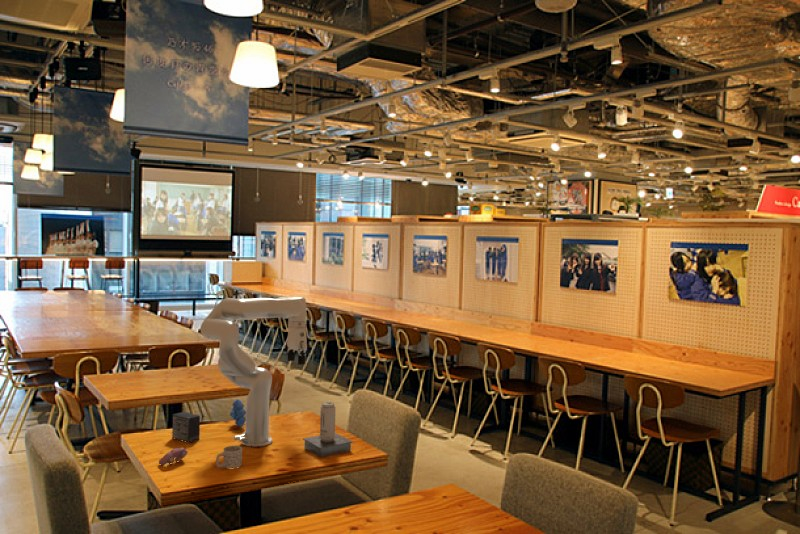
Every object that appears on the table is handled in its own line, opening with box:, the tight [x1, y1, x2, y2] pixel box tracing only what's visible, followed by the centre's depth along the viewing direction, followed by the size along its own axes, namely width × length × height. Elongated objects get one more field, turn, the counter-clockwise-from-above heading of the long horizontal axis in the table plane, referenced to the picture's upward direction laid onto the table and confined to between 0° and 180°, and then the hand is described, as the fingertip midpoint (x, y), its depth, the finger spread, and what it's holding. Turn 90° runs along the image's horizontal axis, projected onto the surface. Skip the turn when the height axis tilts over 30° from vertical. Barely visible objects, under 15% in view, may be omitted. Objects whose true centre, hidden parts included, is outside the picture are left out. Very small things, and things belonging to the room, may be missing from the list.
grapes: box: [229, 398, 246, 428], centre depth 289 cm, size 12×7×12 cm, turn 37°
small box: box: [171, 411, 201, 443], centre depth 269 cm, size 11×6×10 cm, turn 58°
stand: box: [302, 432, 353, 458], centre depth 260 cm, size 15×14×4 cm
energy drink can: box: [319, 401, 336, 442], centre depth 260 cm, size 6×6×15 cm
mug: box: [215, 445, 243, 469], centre depth 238 cm, size 10×7×7 cm, turn 133°
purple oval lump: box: [158, 447, 188, 466], centre depth 240 cm, size 10×5×7 cm, turn 149°
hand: (296, 362), depth 286 cm, fingers open, 9 cm apart
